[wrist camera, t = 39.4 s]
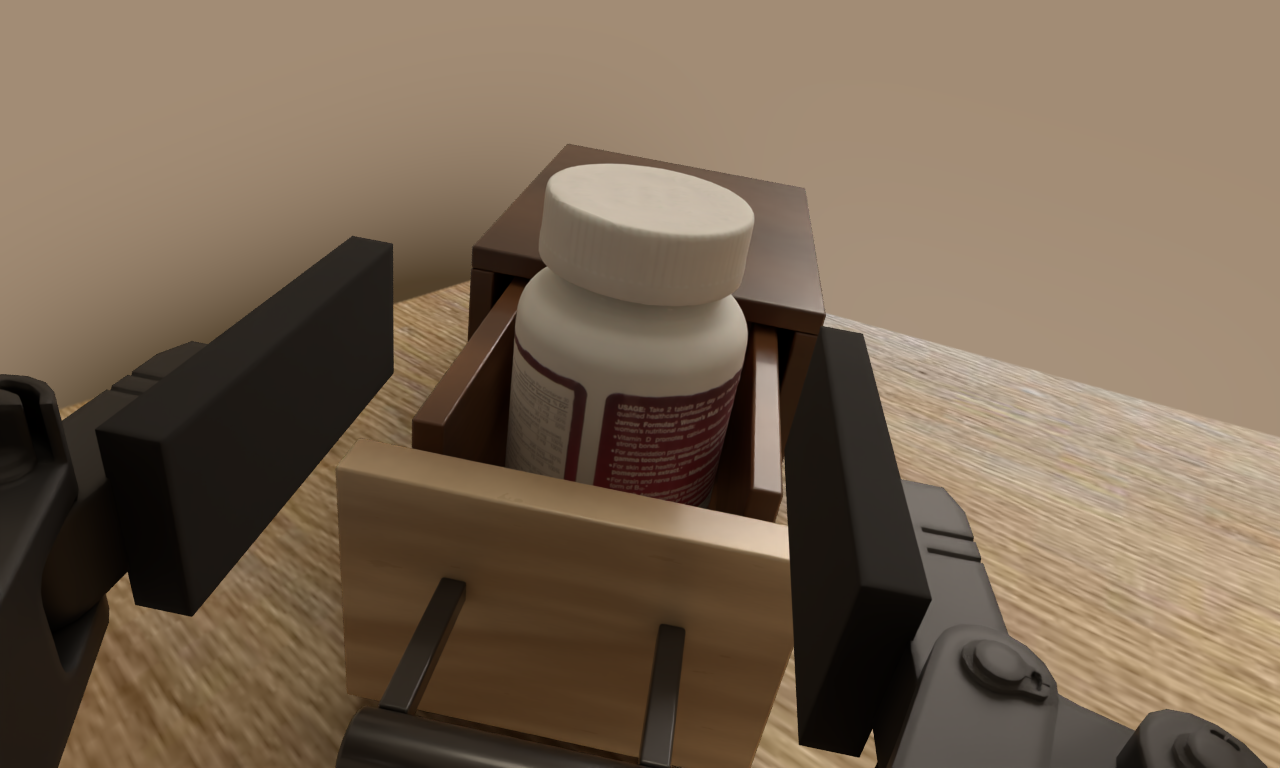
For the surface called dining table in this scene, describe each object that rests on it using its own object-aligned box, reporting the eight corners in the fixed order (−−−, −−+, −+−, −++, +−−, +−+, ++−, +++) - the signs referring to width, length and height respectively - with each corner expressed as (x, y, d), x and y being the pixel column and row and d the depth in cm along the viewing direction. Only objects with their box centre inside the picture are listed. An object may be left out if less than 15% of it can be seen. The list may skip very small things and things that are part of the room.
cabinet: (761, 532, 30) (826, 314, 26) (460, 470, 31) (471, 245, 26) (762, 354, 43) (805, 187, 38) (549, 312, 43) (567, 143, 39)
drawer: (741, 1008, 16) (843, 787, 12) (237, 892, 16) (190, 645, 13) (752, 470, 32) (798, 304, 28) (496, 419, 32) (509, 248, 29)
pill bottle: (714, 518, 27) (797, 193, 21) (660, 650, 22) (752, 267, 16) (547, 463, 28) (584, 142, 23) (459, 575, 23) (478, 194, 18)
